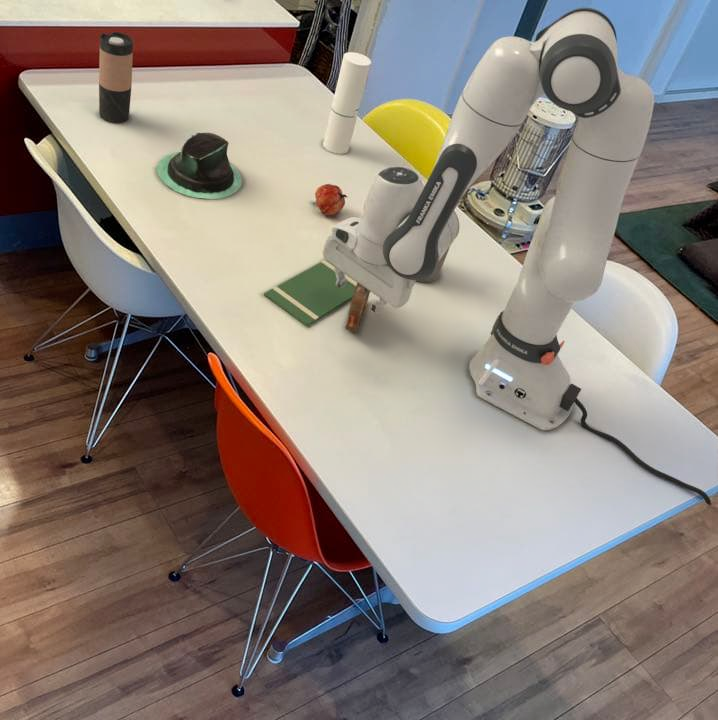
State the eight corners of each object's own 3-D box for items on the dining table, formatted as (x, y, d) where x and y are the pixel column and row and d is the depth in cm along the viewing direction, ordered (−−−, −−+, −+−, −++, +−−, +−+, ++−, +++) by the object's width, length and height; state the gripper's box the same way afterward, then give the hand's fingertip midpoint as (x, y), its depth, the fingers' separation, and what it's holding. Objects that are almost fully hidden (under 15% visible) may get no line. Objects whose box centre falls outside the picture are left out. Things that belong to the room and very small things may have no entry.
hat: (227, 207, 178) (142, 183, 178) (242, 204, 197) (165, 183, 196) (242, 141, 175) (156, 117, 175) (255, 145, 193) (177, 123, 193)
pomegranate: (306, 220, 188) (338, 215, 182) (300, 189, 186) (331, 183, 180) (326, 214, 194) (357, 209, 187) (319, 184, 192) (350, 178, 185)
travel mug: (126, 126, 195) (129, 48, 181) (94, 119, 193) (95, 40, 180) (133, 112, 200) (136, 36, 187) (102, 105, 199) (104, 28, 186)
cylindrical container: (353, 148, 215) (376, 61, 198) (339, 156, 210) (361, 67, 193) (332, 137, 217) (353, 50, 200) (318, 144, 212) (338, 55, 195)
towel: (371, 286, 172) (372, 284, 171) (306, 326, 157) (307, 324, 156) (330, 258, 175) (330, 256, 175) (263, 295, 161) (264, 292, 160)
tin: (355, 340, 157) (365, 309, 152) (340, 335, 157) (349, 304, 152) (368, 297, 168) (378, 267, 163) (355, 293, 168) (364, 262, 163)
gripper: (427, 267, 149) (405, 320, 158) (346, 212, 155) (330, 266, 165) (409, 278, 145) (388, 332, 154) (326, 222, 151) (311, 277, 160)
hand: (357, 298), depth 159 cm, fingers open, 8 cm apart
